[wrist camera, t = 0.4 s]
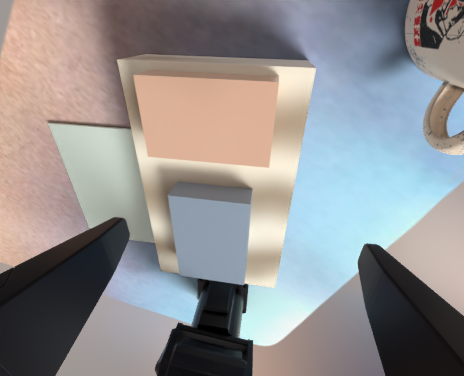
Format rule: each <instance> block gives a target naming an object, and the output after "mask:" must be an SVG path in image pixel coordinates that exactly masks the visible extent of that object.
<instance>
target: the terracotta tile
mask: <svg viewBox="0 0 464 376" xmlns="http://www.w3.org/2000/svg"><path fill="white" fill-rule="evenodd" d="M133 77H134V83H135V88H136V94H137V99H138V105H139V110H140V116H141V121H142V127H143V132H144V138H145V143H146V149H147V154H148V157H156V158H167V159H178V160H189V161H200V162H211V163H222V164H233V165H244V166H255V167H266V168H269V164H270V156H271V147H272V139H273V130H274V121H275V113H276V104H277V95H278V87H279V76H269V75H248V74H227V73H206V72H184V71H163V70H147V71H144V72H140V73H137V74H134V75H133Z"/></svg>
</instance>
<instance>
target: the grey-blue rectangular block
mask: <svg viewBox="0 0 464 376" xmlns="http://www.w3.org/2000/svg"><path fill="white" fill-rule="evenodd" d="M252 192H253V189H247V188H238V187H228V186H218V185H208V184H198V183H189V182H179V181H177V182H176V184H175V185H174V187H173V188H172V190H171V191H170V193H169V194H168V200H169V207H170V214H171V220H172V227H173V234H174V241H175V247H176V254H177V261H178V268H179V275H180V276H186V277H193V278H200V279H206V280H213V281H220V282H226V283H233V284H240V285H244V282H245V275H246V267H247V255H248V242H249V230H250V217H251V204H252Z"/></svg>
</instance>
